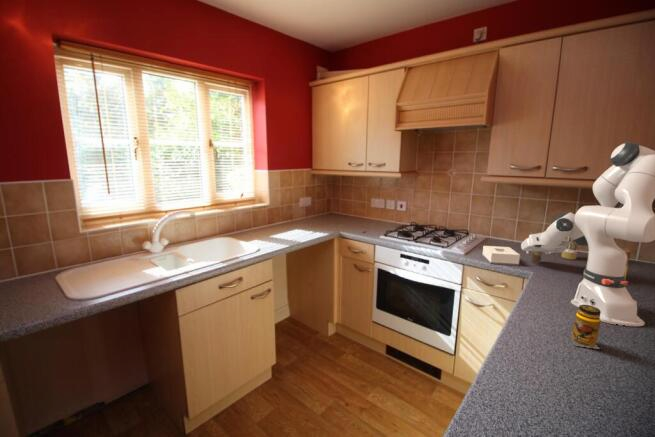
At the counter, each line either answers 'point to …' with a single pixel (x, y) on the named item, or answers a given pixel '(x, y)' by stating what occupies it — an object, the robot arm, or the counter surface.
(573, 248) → the bark patterned cylinder
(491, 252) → the socket block
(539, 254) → the peg
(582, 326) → the condiment
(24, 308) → the counter surface
